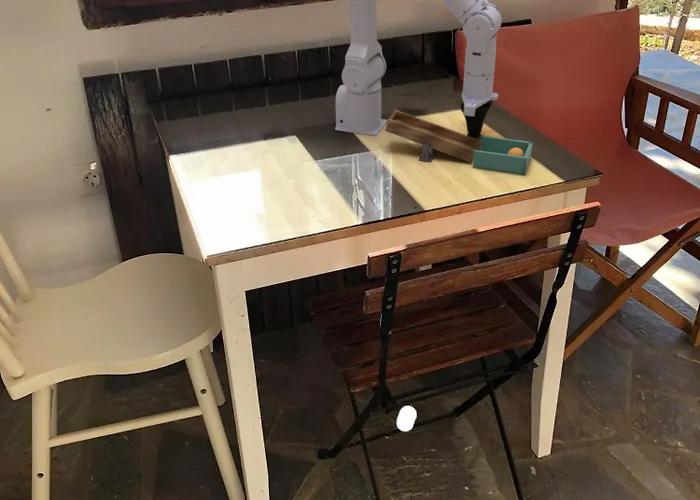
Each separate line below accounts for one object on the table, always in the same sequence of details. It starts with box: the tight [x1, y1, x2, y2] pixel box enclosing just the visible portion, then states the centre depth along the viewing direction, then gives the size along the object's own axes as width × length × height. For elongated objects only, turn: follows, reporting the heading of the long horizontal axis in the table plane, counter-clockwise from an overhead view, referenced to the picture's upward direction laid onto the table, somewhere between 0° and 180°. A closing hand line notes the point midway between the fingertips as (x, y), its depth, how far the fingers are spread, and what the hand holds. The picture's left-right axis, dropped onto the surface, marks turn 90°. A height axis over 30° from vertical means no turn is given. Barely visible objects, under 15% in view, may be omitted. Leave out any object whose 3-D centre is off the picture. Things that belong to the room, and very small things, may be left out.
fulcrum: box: [418, 143, 439, 163], centre depth 145 cm, size 2×8×4 cm, turn 159°
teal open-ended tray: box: [472, 134, 534, 176], centre depth 141 cm, size 10×8×4 cm
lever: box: [384, 109, 483, 163], centre depth 146 cm, size 18×12×3 cm, turn 70°
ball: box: [508, 148, 524, 157], centre depth 140 cm, size 3×3×3 cm
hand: (474, 135), depth 147 cm, fingers closed, pressing on lever
